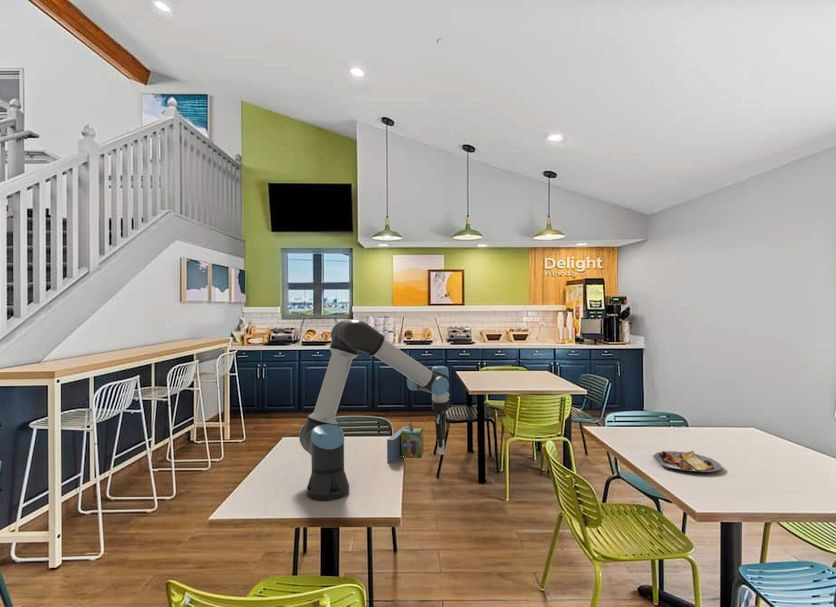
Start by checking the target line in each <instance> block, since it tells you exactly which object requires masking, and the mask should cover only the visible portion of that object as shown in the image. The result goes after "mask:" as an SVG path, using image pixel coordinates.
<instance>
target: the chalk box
mask: <svg viewBox="0 0 836 607" xmlns="http://www.w3.org/2000/svg"><path fill="white" fill-rule="evenodd" d="M408 425H409V426H408V427H410V428H404V429H403V430H402V432H401V457H400V458H401V459H402V458H403V456H404V458H403V459H422V457H423V455H424V452H425V450H424V449H425V446H424V445H425V444H424V442H425V441H424V428H420V427H419V428H417V427H413V426H414V425H413V422H412V421H410V422H409V424H408Z"/></svg>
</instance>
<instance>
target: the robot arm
mask: <svg viewBox="0 0 836 607" xmlns="http://www.w3.org/2000/svg"><path fill="white" fill-rule="evenodd" d="M385 337H386V336H385V335H384V334H382V333H381V332H380V331H378V330H377V329H375V328H374V327H372V326H371V325H370V324H368V323H367V322H365V321H362V320H360V319H359V320H358V319H343V320H341V321H339V322H337V323H335V325H334V326H333V327H332V329H331V332H330V339H331V342H330V346H329V351H330V353H331V355H330V358H329V361H328V365H327V368H326V371H325V375H324V378H323V380H322V384H321V386H320V387H321V388H320V391H319V394H318V397H317V400H316V404H315V406H314V410H313V412H312V413H311V414H309V415H308V416H307V420H306V423H304V424H303V425H302V426H301V428H300V431H299V436H298V437H299V438H298V439H299V442H300V443H299V444H301V445H300V446H301V447H302V449H304V451H306V452H307V453H308V454H309V455H310V456H311V457H310V458H311V472H310V473H311V474H310V478H309V479H308V483H307V487H306V497H307V498H309V499H310V500H312V501H313V500H314V501H318V502H319V501H321V502H323V501H324V502H326V501H327V502H328V501H334V500H338V499H341V498H344V497H346V496H348V494H349V493H350V483H349V480H348V477H347V475H346V472H345V435H344V434H345V433H344V430H343V428H342V427H341V426H339V425H338V422H337V420H336V415H337V413H338V412H337V411H338V409H339V405H340V403H341V402H340V401H341V399H342V395H343V392H344V388H345V386H346V381H347V378H348V376H349V373H350V369H351V365H352V363H353V362H352V361H353V359H355V358H358V357H359V356H358V355H359V353H360V352H362V353H363V354H366V355H367V356H368V357H371V358H372V357H375V358H376V359H378V360H379V361H382V362H383V363H384V364H385V365H388V366H389V367H391V368H392V369H394V370H395V371H397V372H398V373H400V374H402V375H403V376H405V377H406V385H407V387H408V389H409V391H416V392H417V391H422V392H425V393H426V392H427V393H430V394H431V401H432V402H431V405H432V406H431V409H432V411H436V414H435V419H434V423H435V424H434V425H435V435H436V436H435V437H436V438H435V441H437V455H443V456H444V455H445V440H446V439H447V436H446V426H447V424H446V423H447V414H446V413H445V412H447V411H449V410H450V402H449V400H450V398H449V397H450V396H451V394H450V393H449V391H450V390H449V388H450V384H449V382H450V380H449V379H450V376H449V368H448V366H445V365H444V366H443V365H434V366H432V368H431V370H430V369H429V368H428V367H426V366H425V365H423V364H422V363H420V362H419V361H417V360H416V359H414V358H412V356H410V355H409V354H407V353H405V352H404V351H402V350H401V349H399V348H398V347H397V346H395V345H393V344H392V343H391V342H389V341H387V340H386V338H385Z"/></svg>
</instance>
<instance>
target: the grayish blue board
mask: <svg viewBox="0 0 836 607" xmlns="http://www.w3.org/2000/svg"><path fill="white" fill-rule="evenodd" d="M404 428H410V427H409V426H403V427H401V428H400V429H398V431H396V432H394V434H392V435H391V436H389V437H388V438H386V456H387V457H386V459H387V464H388V463H389V464H395V463H396V462H397V461H398V460H399V459H400V458H401V432H402V430H403V429H404Z"/></svg>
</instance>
